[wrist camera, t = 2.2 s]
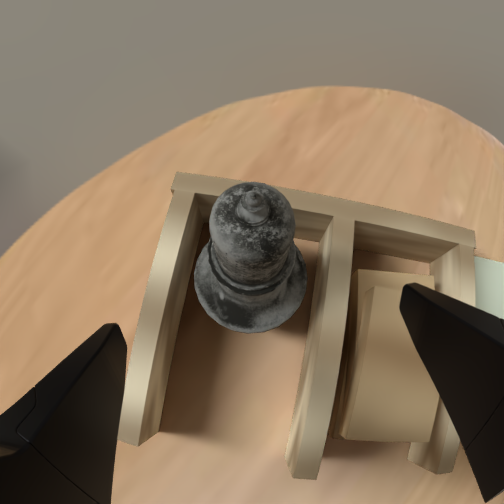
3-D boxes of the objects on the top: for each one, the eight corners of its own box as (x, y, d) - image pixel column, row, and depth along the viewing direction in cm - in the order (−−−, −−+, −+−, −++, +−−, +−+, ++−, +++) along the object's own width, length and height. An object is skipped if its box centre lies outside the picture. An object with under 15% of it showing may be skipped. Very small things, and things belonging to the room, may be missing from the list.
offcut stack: (403, 434, 17) (437, 447, 13) (322, 432, 17) (341, 450, 13) (420, 288, 20) (454, 270, 16) (344, 276, 21) (367, 254, 16)
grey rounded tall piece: (284, 238, 21) (320, 106, 10) (307, 326, 19) (387, 273, 8) (195, 256, 21) (142, 135, 9) (213, 347, 19) (160, 324, 7)
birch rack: (424, 458, 16) (455, 471, 12) (136, 425, 17) (112, 437, 13) (445, 251, 21) (474, 230, 17) (187, 203, 22) (176, 171, 18)
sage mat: (527, 408, 16) (533, 408, 16) (445, 417, 17) (451, 418, 16) (532, 274, 20) (538, 272, 20) (456, 256, 21) (462, 252, 20)
